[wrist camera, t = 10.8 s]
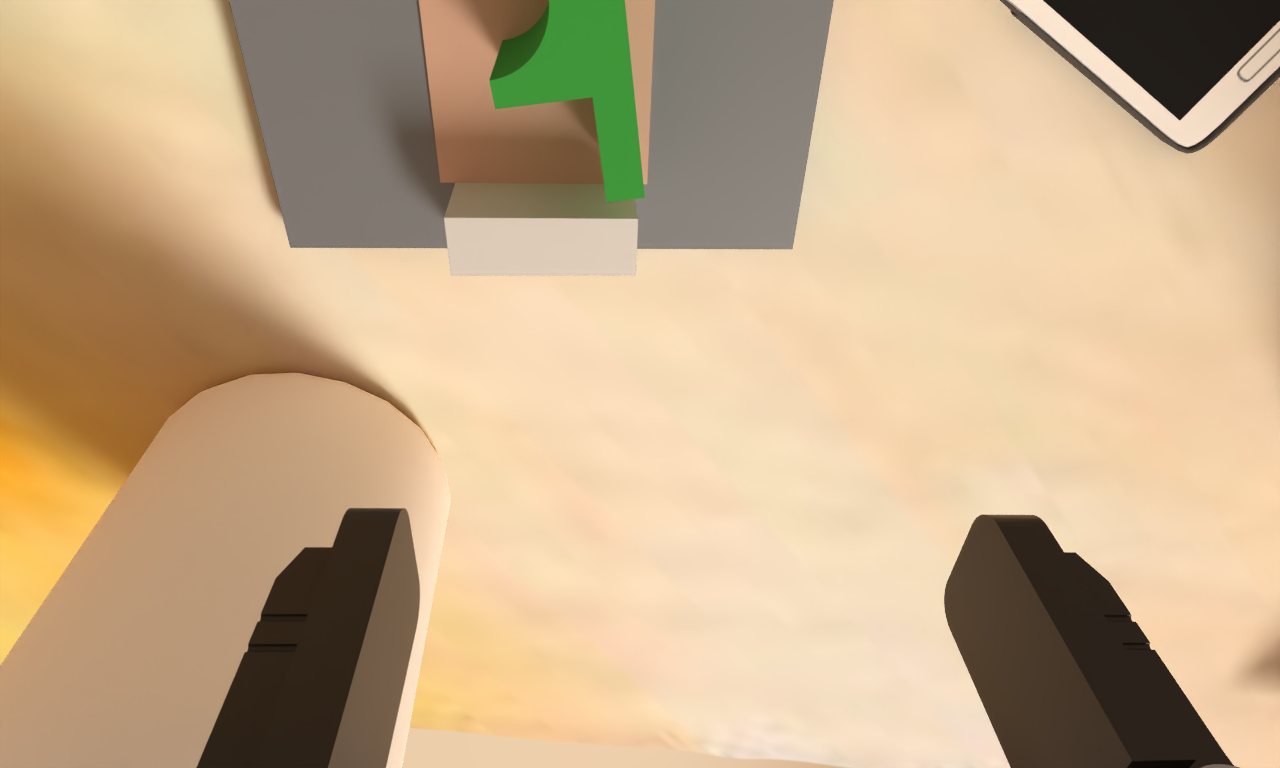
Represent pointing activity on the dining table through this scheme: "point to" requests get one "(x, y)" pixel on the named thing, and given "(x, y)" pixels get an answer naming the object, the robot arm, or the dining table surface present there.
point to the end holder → (531, 131)
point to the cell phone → (1167, 57)
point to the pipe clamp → (580, 80)
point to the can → (209, 569)
